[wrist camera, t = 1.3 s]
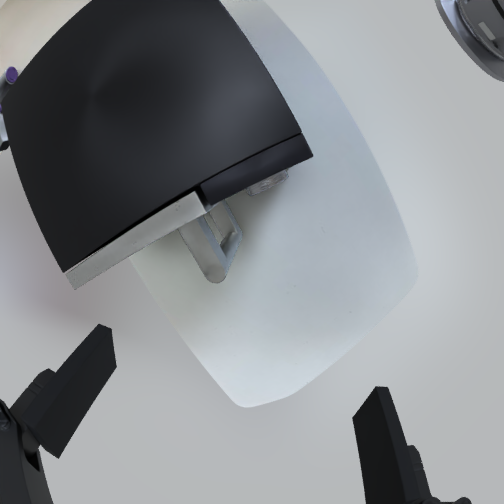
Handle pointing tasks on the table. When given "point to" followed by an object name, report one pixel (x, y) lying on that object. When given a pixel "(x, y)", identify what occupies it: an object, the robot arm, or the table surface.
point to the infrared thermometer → (3, 85)
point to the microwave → (143, 119)
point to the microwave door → (164, 222)
